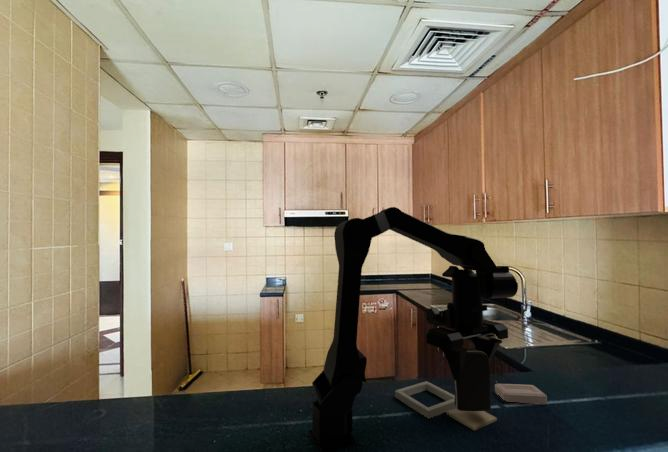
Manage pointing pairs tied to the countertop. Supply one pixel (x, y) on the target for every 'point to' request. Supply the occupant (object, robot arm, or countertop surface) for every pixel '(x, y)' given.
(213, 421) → the countertop surface
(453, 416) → the pad
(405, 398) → the frame
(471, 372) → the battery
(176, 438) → the countertop surface
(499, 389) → the soap bar
